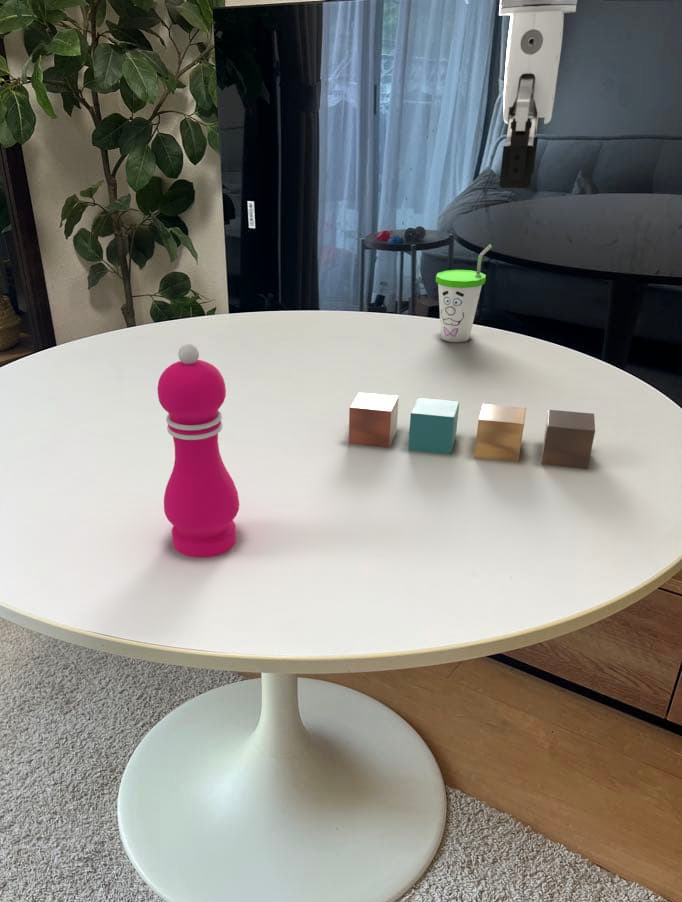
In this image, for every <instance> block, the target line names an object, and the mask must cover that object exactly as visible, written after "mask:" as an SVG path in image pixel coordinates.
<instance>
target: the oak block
mask: <svg viewBox="0 0 682 902" xmlns="http://www.w3.org/2000/svg"><path fill="white" fill-rule="evenodd" d="M526 413H527V407H523V406H513V405H503V404H501V405H500V404H492V403H491V404H490V403H482V405H481V408H480V412H479V415H478V421H477V429H476V436H475V437H476V438H475V439H476V440H475V445H474V446H475V447H474V455H473V457H474V458H479V459H489V460H496V461H497V460H498V461H506V462H515V463H516V462H517V463H518V462H519V460H520V454H521V447H522V442H523V441H522V440H523V434H524V428H525V422H526V421H525V420H526Z"/></svg>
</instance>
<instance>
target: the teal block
mask: <svg viewBox="0 0 682 902" xmlns="http://www.w3.org/2000/svg"><path fill="white" fill-rule="evenodd" d="M459 410H460V401H459V400H457V401H456V400H445V399H437V398H427V397H425V398H424V397H417V399H416V400H415V403H414V405H413V408H412V410H411V412H410V417H409V418H410V419H409V433H408V451H416V452H423V453H432V454H433V453H434V454H441V455H452V451H453V448H454V445H455V441H456V439H457V430H458V419H459Z"/></svg>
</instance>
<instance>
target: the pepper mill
mask: <svg viewBox="0 0 682 902" xmlns="http://www.w3.org/2000/svg"><path fill="white" fill-rule="evenodd" d="M177 355H178V359H179V361H176V362H173V363H172V364H170V365H168V366H167V368H165V369H164V371H163V372H162V373H161V375H160V376H159V379H158V383H157V397H158V401H159V404H160V406H161V407H162V408H163V410H164V411H165V412H167V413H168V414H167V416H166V418H165V421H166V423H167V428H166V430H167V433H168V434H169V435H170V436H172V439H173V443H174V463H173V467H172V471H171V474H170V476H169V479H168V481H167V483H166V485H165V491H164V495H163V512H164V515H165V517H166V519H167V521H168V522H169V523H170V524H171V525H172V527H171V537H172V545H173V548H174V549H175V550H176V551H177V552H178V553H179V554H181V555H183V556H187V557H191V558H211V557H216V556H220V555H223V554H224V553H226V552H228V551H230V550H232V548H233V547H234V546H235V545H236V542H237V527H236V526H237V525H236V523H235V522H234V520H235V518H236V517H237V515H238V512H239V510H240V498H239V492H238V490H237V487H236V485H235V484H236V483H235V481H234V479H233V478H232V476H231V475H230V473H229V471H228V469H227V468H226V466H225V464H224V461H223V458H222V456H221V453H220V447H219V433H220V432H221V431H222V430H223V427H224V424H223V422H222V419H223V414H222V412H221V411H220V410H219V409H220V408H221V407H222V405H223V404H224V402H225V399H226V396H227V389H226V388H227V387H226V382H225V379H224V377H223V375H222V373H221V371H220V370H219V369H218V368H217V367H216V366H215V365H213V364H211V363H209V362H207V361H206V360H201V359H199V358H200V352H199V350H198V348H197V347H196V345H194V344H192V343H185V344H182V346H180V348H179V349H178V353H177Z"/></svg>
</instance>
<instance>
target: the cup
mask: <svg viewBox="0 0 682 902" xmlns="http://www.w3.org/2000/svg"><path fill="white" fill-rule="evenodd" d="M492 248H493V245H492V244H491V243H489V244H488V245H487V246H486V247H485V248H484V249H483V250H482V251H481V252H480V253H479V255H478V257H477V265H476V270H470V269H450V270H443V271H440V272H437V273H436V275H435V283H436V284H437V287H438V288H437V289H438V307H439V308H438V309H439V326H440V339H441V340H443V341H446V342H449V343H450V342H451V343H462V342H463V343H464V342H466V341H470V337H471V332H472V328H473V324H474V321H475V316H476V312H477V308H478V304H479V299H480V295H481V291H482V287H483V285H485V284H486V278H487V275H486V274H485V273H483V272H481V267H482V259H483V258H484V257H483V256H484V255H485V254H486V253H487V252H489V250H491V249H492Z"/></svg>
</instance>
